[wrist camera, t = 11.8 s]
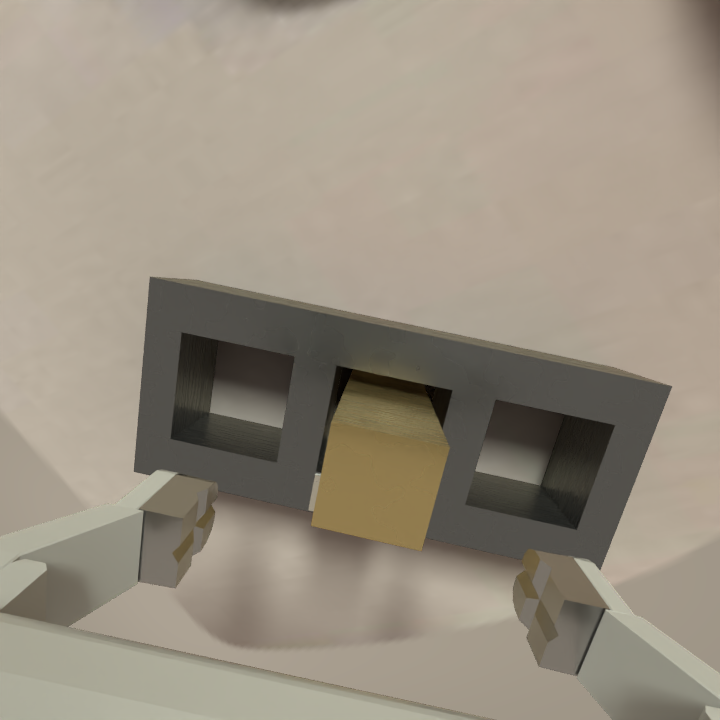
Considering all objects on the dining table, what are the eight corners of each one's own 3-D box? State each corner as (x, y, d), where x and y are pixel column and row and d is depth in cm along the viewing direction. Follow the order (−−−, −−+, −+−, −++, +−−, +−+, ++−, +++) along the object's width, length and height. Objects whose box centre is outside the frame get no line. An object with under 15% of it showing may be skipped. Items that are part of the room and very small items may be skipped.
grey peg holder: (178, 440, 22) (132, 472, 18) (195, 279, 20) (148, 276, 16) (558, 525, 22) (598, 578, 18) (614, 367, 20) (673, 386, 16)
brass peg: (341, 430, 21) (310, 525, 13) (354, 366, 21) (331, 421, 12) (406, 444, 21) (421, 551, 12) (421, 381, 21) (449, 447, 12)
